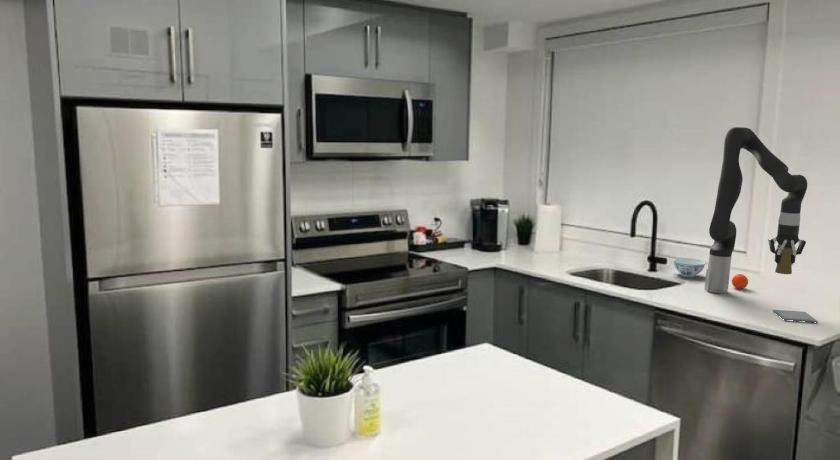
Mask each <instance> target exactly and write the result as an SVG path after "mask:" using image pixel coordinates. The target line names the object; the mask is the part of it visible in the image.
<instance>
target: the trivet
mask: <svg viewBox="0 0 840 460" xmlns="http://www.w3.org/2000/svg"><path fill="white" fill-rule="evenodd" d="M772 313H774V314H775V313H776V314H777V315H778V316H780V317H781V318H782V319H784V320H793V321H805V322H816V323H817V324H818V319H815V318H814V317H813V316H812V315H810V314H809V313H807V312H806V311H797V310H785V309H784V310H782V309H772ZM776 314H775V315H776ZM777 315H776V316H777ZM778 316H777V317H778ZM780 317H779V318H780ZM781 318H780V319H781ZM782 319H781V320H782ZM816 323H815V324H816Z"/></svg>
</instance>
